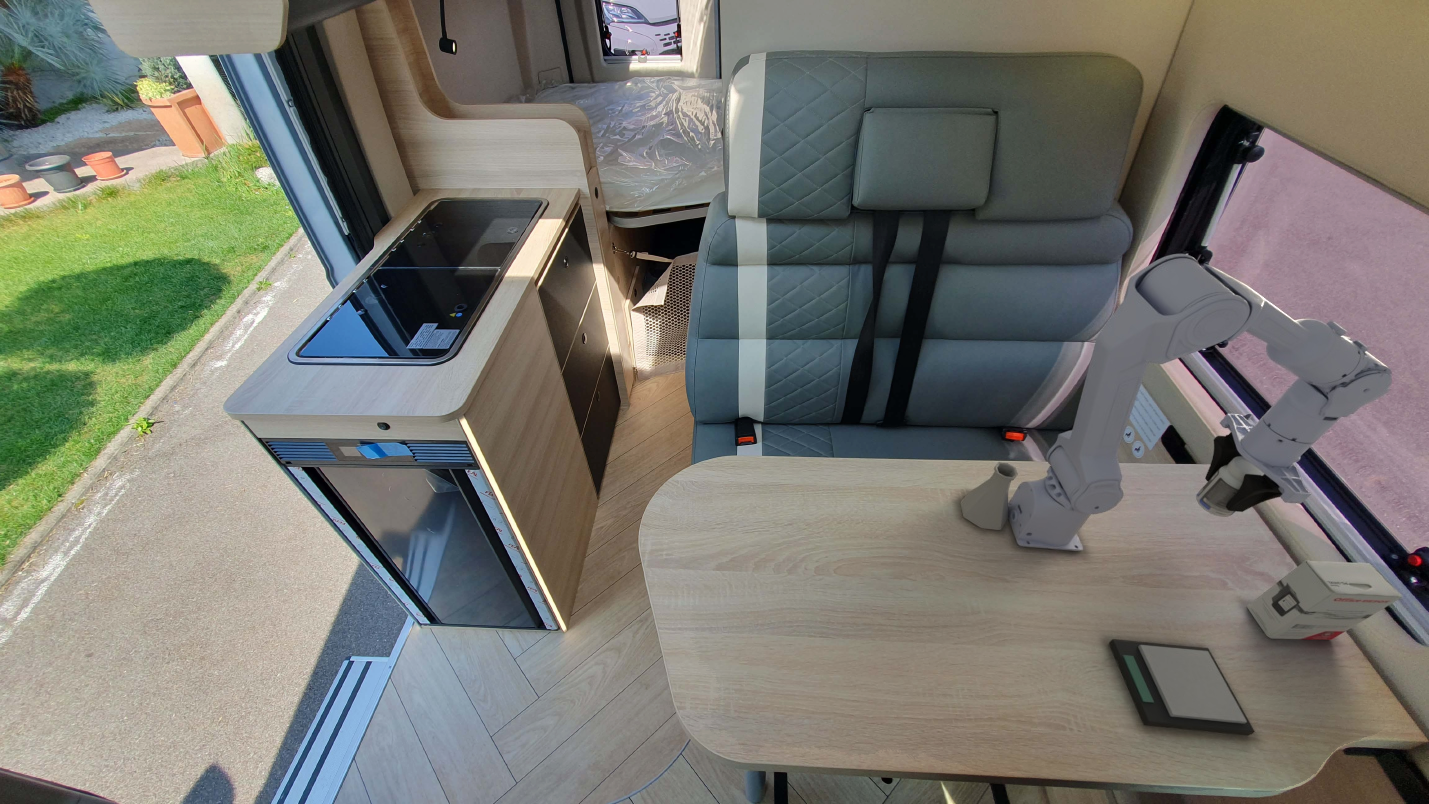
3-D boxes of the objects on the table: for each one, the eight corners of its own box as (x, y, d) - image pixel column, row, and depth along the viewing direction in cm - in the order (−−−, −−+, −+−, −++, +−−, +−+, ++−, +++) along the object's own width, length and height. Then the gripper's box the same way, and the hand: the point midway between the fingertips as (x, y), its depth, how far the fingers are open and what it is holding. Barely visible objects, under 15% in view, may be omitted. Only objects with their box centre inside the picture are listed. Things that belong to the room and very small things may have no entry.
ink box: (1306, 607, 80) (1373, 560, 72) (1333, 642, 77) (1407, 596, 69) (1244, 605, 80) (1304, 557, 72) (1268, 639, 77) (1334, 593, 69)
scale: (1143, 725, 68) (1151, 719, 67) (1108, 642, 76) (1115, 636, 75) (1248, 735, 68) (1258, 730, 67) (1202, 651, 75) (1211, 645, 74)
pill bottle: (1238, 520, 82) (1278, 482, 77) (1202, 514, 83) (1240, 476, 77) (1223, 495, 86) (1261, 456, 80) (1189, 489, 87) (1224, 451, 81)
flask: (1009, 503, 92) (1034, 462, 86) (1005, 537, 88) (1031, 496, 81) (962, 487, 95) (983, 445, 88) (956, 520, 90) (977, 478, 83)
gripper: (1365, 473, 68) (1285, 539, 77) (1284, 392, 79) (1223, 459, 88) (1303, 468, 68) (1231, 535, 78) (1231, 388, 79) (1175, 455, 88)
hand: (1223, 494), depth 83 cm, fingers closed on pill bottle, 5 cm apart
